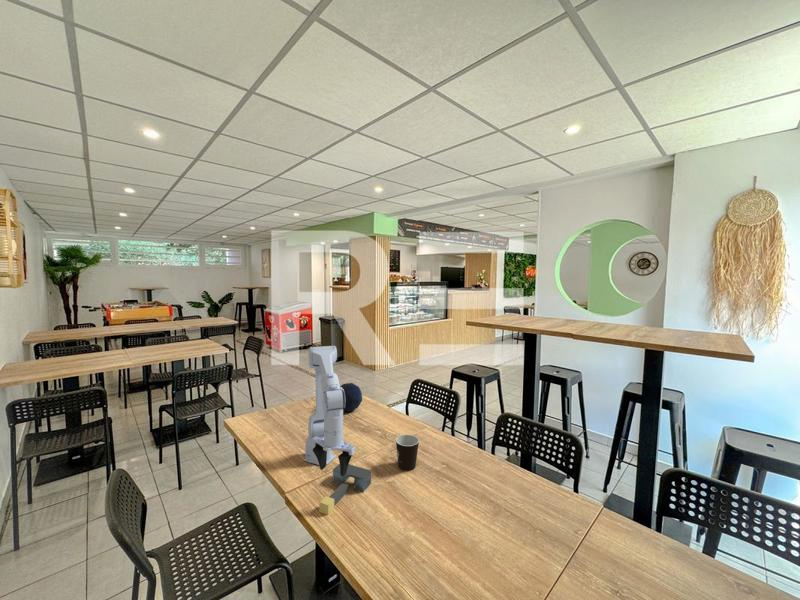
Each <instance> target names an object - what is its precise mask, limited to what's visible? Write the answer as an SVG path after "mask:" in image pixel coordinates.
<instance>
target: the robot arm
mask: <svg viewBox="0 0 800 600" xmlns="http://www.w3.org/2000/svg"><path fill="white" fill-rule="evenodd" d="M337 350H338V349H337V346H335V345H326V346H325V345H323V346H310V347H309V348H308V366H309V368H311V369H313V370H314V373H315V411H314V412H313V413H311V414H310V415H309V417H308V423H307V424H308V426H307V428H308V436H307V438H306V439H305V458H304V459H303V461H304V462H307V463H310V464H314V465H318V466H319V469H320V470H322V471H323V470H324V469H325V468H326V467H327V465H328V464H329V463H331V461H333V460H334V459H335V458H336V457H337V454H334V453H333V451H339V452H342V453H340V454H339V455H338V457H337V458H338V462H339V464H340V474H341V476H344V475H345V474H346V472H347V467H348V464H350V461H351V459H352V457H353V455H354V454H355V453H356V446H354V445H352V444H350V443H348V442H347V441H345V440H343V439H344V433H343V432H344V425H343V424H344V411H343V408H345V393H344V390H343V389H342V387H340V386H341V385H340V380H339V376H338V375H337V373H335V372H334V366H335V363H336V361H337V360H338V351H337Z"/></svg>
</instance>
